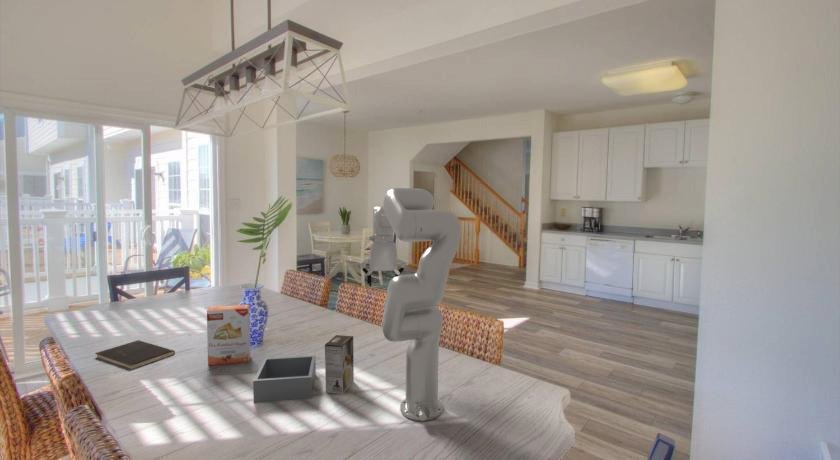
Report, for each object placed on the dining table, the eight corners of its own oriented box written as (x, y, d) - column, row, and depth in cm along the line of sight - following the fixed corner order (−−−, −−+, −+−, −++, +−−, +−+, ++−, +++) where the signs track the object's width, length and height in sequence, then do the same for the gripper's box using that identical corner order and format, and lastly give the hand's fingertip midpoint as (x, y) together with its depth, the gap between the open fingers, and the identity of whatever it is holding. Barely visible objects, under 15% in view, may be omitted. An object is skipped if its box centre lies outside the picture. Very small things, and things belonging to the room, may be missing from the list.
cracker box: (207, 366, 147) (205, 310, 145) (211, 360, 153) (209, 306, 151) (249, 362, 151) (247, 308, 149) (251, 356, 157) (249, 303, 155)
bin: (311, 398, 125) (311, 377, 124) (253, 403, 122) (253, 380, 121) (315, 374, 142) (315, 355, 141) (264, 378, 138) (264, 358, 138)
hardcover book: (130, 371, 144) (130, 364, 144) (95, 358, 154) (95, 352, 154) (174, 355, 158) (174, 349, 158) (140, 345, 168) (139, 339, 168)
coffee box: (336, 379, 138) (336, 334, 137) (354, 381, 137) (354, 335, 135) (324, 392, 129) (324, 343, 128) (343, 394, 128) (343, 345, 126)
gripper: (359, 240, 144) (359, 288, 145) (407, 240, 147) (407, 286, 148) (359, 238, 152) (359, 283, 153) (405, 238, 154) (405, 282, 155)
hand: (383, 285), depth 150 cm, fingers open, 9 cm apart
